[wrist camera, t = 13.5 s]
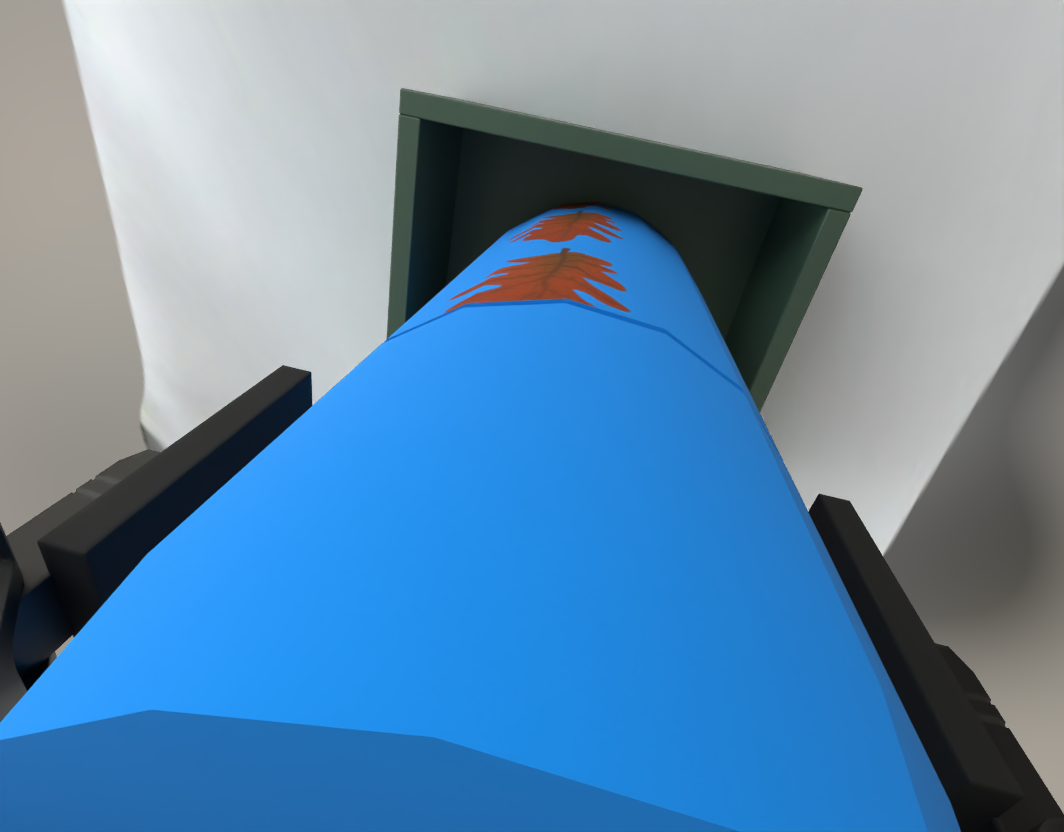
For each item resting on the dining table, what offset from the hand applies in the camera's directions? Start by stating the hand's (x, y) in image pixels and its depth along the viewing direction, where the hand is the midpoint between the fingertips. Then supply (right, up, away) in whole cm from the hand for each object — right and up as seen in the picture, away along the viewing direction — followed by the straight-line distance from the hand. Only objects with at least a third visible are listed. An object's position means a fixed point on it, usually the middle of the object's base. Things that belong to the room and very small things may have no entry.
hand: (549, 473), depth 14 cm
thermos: (+2, +7, +14) cm, 15 cm away
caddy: (+2, +7, +14) cm, 16 cm away
